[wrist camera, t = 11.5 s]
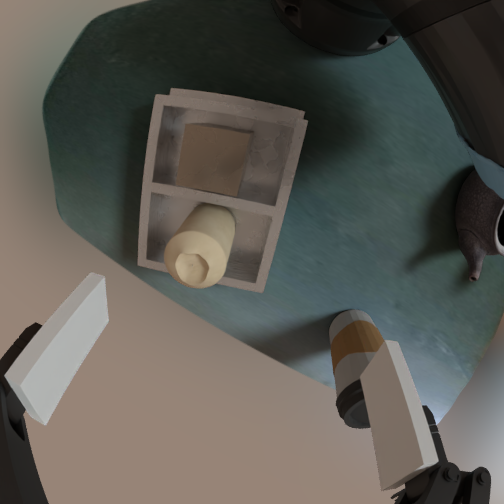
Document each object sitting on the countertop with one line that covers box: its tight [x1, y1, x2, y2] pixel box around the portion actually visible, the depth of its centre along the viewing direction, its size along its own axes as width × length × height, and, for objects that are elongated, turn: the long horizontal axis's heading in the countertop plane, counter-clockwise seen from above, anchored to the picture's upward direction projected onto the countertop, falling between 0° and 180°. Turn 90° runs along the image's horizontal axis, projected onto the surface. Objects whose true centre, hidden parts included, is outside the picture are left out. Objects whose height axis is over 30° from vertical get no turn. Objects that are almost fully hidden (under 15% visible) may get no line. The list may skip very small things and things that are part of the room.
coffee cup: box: [329, 309, 384, 429], centre depth 32 cm, size 8×8×15 cm
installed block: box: [176, 123, 254, 197], centre depth 25 cm, size 5×5×8 cm
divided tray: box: [138, 88, 308, 293], centre depth 29 cm, size 20×14×5 cm
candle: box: [164, 203, 236, 288], centre depth 28 cm, size 6×6×10 cm
